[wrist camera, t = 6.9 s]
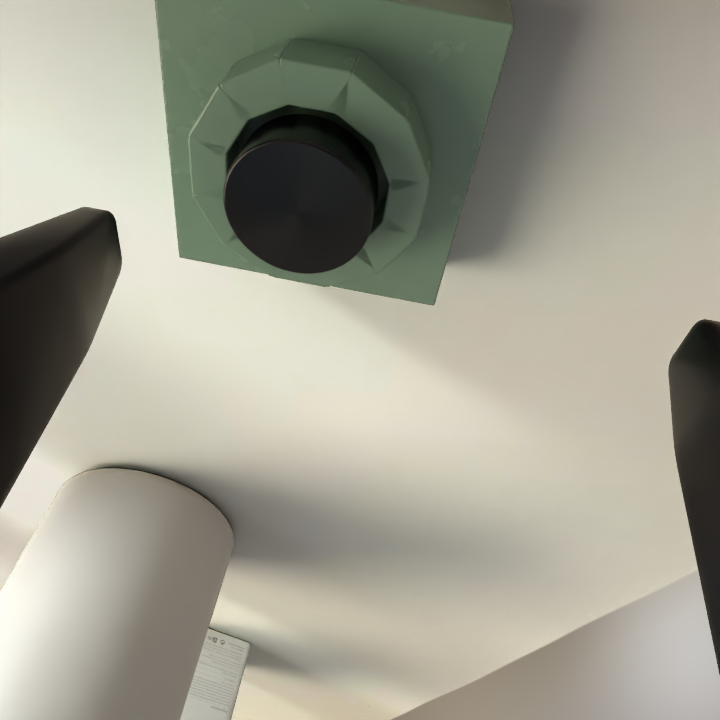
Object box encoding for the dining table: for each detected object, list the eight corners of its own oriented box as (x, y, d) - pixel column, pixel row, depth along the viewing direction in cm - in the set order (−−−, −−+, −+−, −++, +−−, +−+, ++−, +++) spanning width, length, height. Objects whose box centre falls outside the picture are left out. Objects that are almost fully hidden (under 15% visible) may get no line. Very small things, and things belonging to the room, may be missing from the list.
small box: (191, 620, 56) (135, 789, 47) (252, 642, 58) (210, 809, 49) (163, 643, 61) (108, 799, 52) (220, 663, 63) (177, 817, 54)
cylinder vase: (159, 571, 50) (-16, 1019, 32) (27, 490, 43) (-283, 995, 26) (272, 540, 44) (133, 1074, 26) (138, 441, 37) (-170, 1060, 19)
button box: (510, -3, 18) (518, 46, 15) (437, 265, 25) (431, 337, 22) (183, -65, 18) (122, -29, 15) (201, 220, 25) (161, 286, 22)
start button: (389, 128, 17) (383, 156, 16) (368, 254, 20) (361, 286, 19) (237, 99, 17) (219, 125, 16) (239, 230, 20) (224, 260, 19)
